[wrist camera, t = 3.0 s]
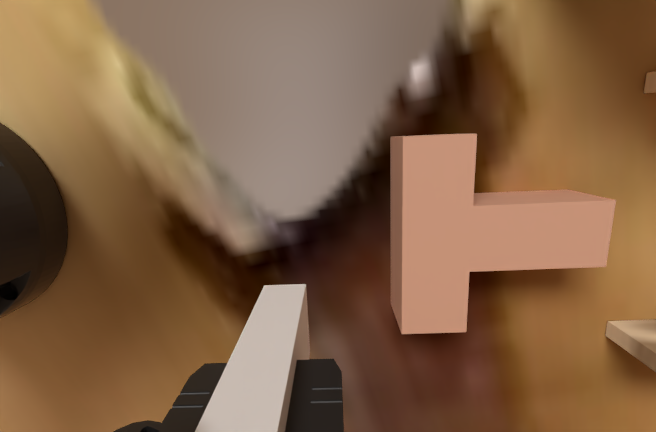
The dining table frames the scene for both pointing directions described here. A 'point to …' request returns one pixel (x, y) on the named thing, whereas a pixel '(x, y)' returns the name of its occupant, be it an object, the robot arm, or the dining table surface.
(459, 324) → the t block
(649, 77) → the bay
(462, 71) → the dining table surface
